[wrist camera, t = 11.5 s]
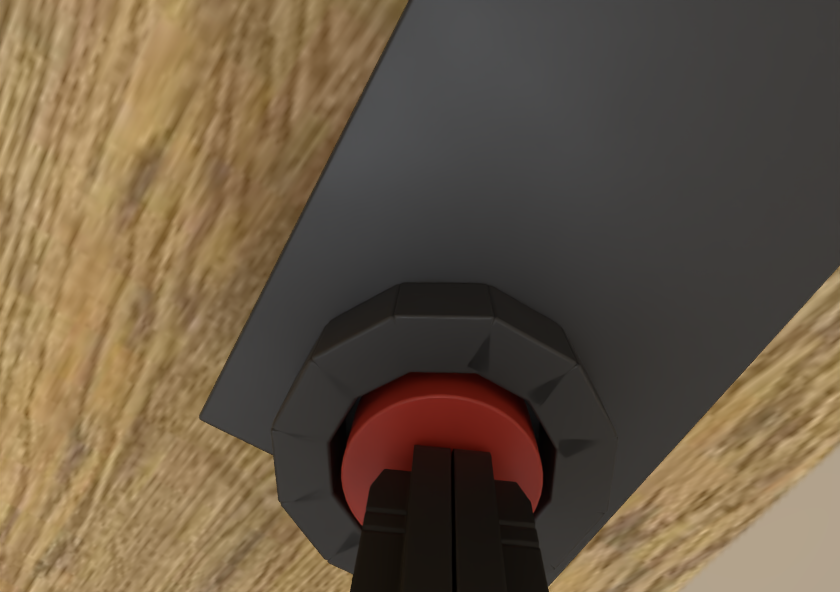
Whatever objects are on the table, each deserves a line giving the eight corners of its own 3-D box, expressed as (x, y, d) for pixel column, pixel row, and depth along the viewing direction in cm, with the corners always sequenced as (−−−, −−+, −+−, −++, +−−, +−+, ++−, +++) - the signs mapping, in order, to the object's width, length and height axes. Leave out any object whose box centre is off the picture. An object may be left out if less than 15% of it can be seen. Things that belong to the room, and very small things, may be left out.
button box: (526, 538, 17) (548, 666, 13) (223, 387, 16) (152, 483, 12) (935, 56, 12) (1159, 45, 8) (541, -234, 10) (593, -407, 7)
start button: (470, 527, 14) (473, 588, 12) (324, 455, 13) (306, 508, 12) (567, 406, 12) (585, 456, 11) (408, 320, 12) (402, 359, 10)
